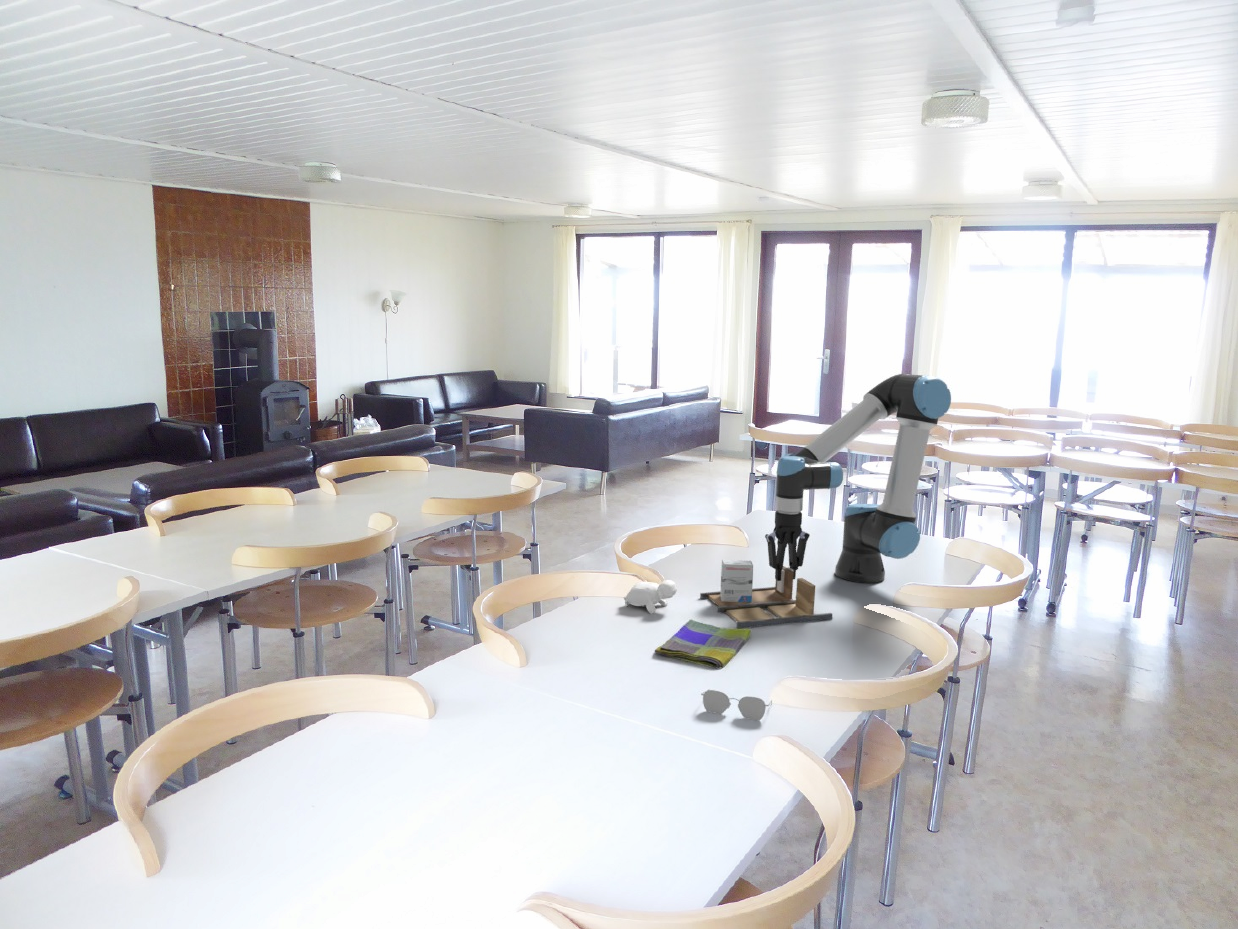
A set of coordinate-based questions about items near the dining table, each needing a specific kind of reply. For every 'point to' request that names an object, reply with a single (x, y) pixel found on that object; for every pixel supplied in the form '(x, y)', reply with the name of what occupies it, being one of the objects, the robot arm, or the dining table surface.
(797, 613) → the wooden l-shaped stand
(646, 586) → the white animal figurine
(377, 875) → the dining table surface
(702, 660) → the dish towel
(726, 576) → the ink box
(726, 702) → the sunglasses
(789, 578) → the tan wooden holder
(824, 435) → the robot arm
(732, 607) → the lane rails
